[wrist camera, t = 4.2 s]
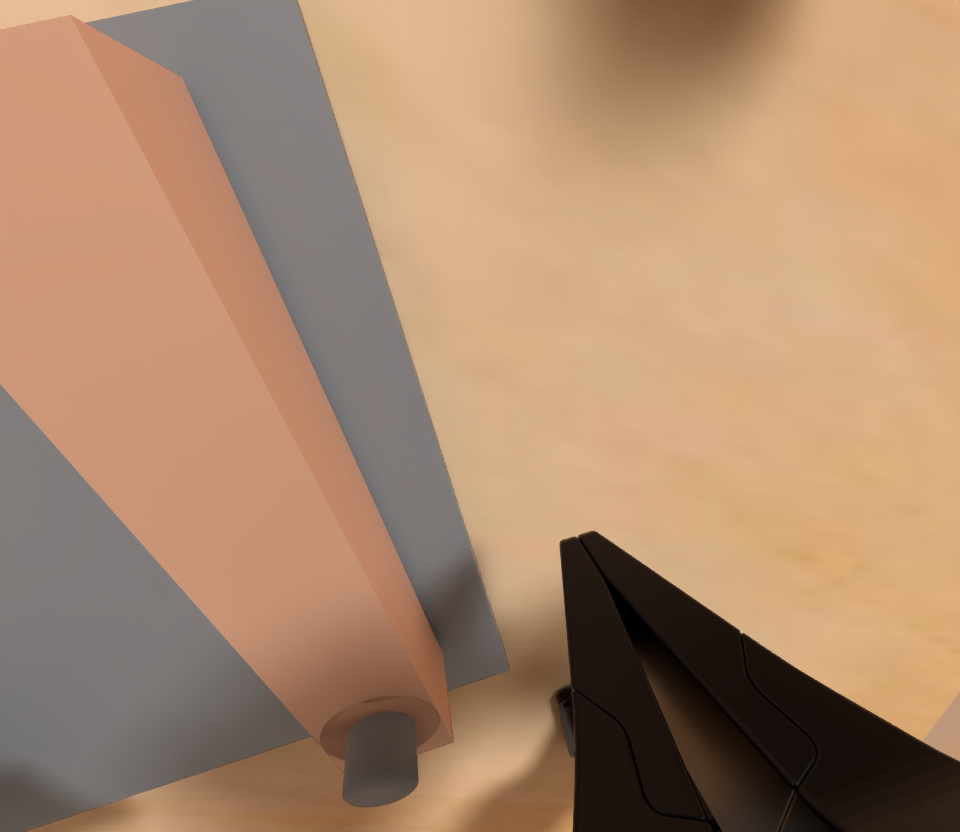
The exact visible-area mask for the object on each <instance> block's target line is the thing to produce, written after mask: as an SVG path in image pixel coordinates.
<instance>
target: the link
mask: <svg viewBox="0 0 960 832" xmlns="http://www.w3.org/2000/svg"><path fill="white" fill-rule="evenodd" d="M0 384H1V385H2V387H3V388H4V389H5V390H6V391H7V392H8V393H9V394H10V396H11V397H12V398H13V399H14V400H15V401H16V402H17V404H18V405H19V406H20V407H21V408H22V409H23V410H24V411H25V413H26V414H27V415H28V416H29V417H30V418H31V419H32V420H33V422H34V423H35V424H36V425H37V426H38V427H39V428H40V430H41V431H42V432H43V433H44V434H45V435H46V436H47V437H48V439H49V440H50V441H51V442H52V443H53V444H54V445H55V446H56V448H57V449H58V450H59V451H60V452H61V453H62V454H63V456H64V457H65V458H66V459H67V460H68V461H69V462H70V463H71V465H72V466H73V467H74V468H75V469H76V470H77V471H78V472H79V474H80V475H81V476H82V477H83V478H84V479H85V480H86V482H87V483H88V484H89V485H90V486H91V487H92V488H93V489H94V491H95V492H96V493H97V494H98V495H99V496H100V497H101V498H102V500H103V501H104V502H105V503H106V504H107V505H108V506H109V508H110V509H111V510H112V511H113V512H114V513H115V514H116V515H117V517H118V518H119V519H120V520H121V521H122V522H123V523H124V524H125V526H126V527H127V528H128V529H129V530H130V531H131V532H132V534H133V535H134V536H135V537H136V538H137V539H138V540H139V541H140V543H141V544H142V545H143V546H144V547H145V548H146V549H147V550H148V552H149V553H150V554H151V555H152V556H153V557H154V558H155V560H156V561H157V562H158V563H159V564H160V565H161V566H162V567H163V569H164V570H165V571H166V572H167V573H168V574H169V575H170V576H171V578H172V579H173V580H174V581H175V582H176V583H177V584H178V586H179V587H180V588H181V589H182V590H183V591H184V592H185V593H186V595H187V596H188V597H189V598H190V599H191V600H192V601H193V602H194V604H195V605H196V606H197V607H198V608H199V609H200V610H201V612H202V613H203V614H204V615H205V616H206V617H207V618H208V619H209V621H210V622H211V623H212V624H213V625H214V626H215V627H216V628H217V630H218V631H219V632H220V633H221V634H222V635H223V636H224V638H225V639H226V640H227V641H228V642H229V643H230V644H231V645H232V647H233V648H234V649H235V650H236V651H237V652H238V653H239V654H240V656H241V657H242V658H243V659H244V660H245V661H246V662H247V664H248V665H249V666H250V667H251V668H252V669H253V670H254V671H255V673H256V674H257V675H258V676H259V677H260V678H261V679H262V680H263V682H264V683H265V684H266V685H267V686H268V687H269V688H270V690H271V691H272V692H273V693H274V694H275V695H276V696H277V697H278V699H279V700H280V701H281V702H282V703H283V704H284V705H285V706H286V708H287V709H288V710H289V711H290V712H291V713H292V714H293V716H294V717H295V718H296V719H297V720H298V721H299V722H300V723H301V725H302V726H303V727H304V728H305V729H306V730H307V731H308V732H309V734H310V735H311V736H312V737H313V738H314V739H315V740H316V742H317V743H318V744H319V745H320V746H321V747H322V748H323V749H324V751H325V752H326V753H327V754H328V755H329V756H330V757H331V758H332V760H333V761H334V762H335V763H336V764H337V765H338V766H339V768H340V769H341V770H342V771H343V772H344V780H343V794H342V795H343V799H344V800H345V801H346V802H347V803H349V804H351V805H354V806H358V807H376V806H382V805H386V804H390V803H393V802H395V801H398V800H400V799H402V798H404V797H406V796H407V795H409V794H410V793H411V792H412V791H413V790H414V789H415V788H416V787H417V785H418V764H417V754H420V753H423V752H426V751H429V750H432V749H435V748H438V747H441V746H444V745H447V744H449V743H452V742H454V740H453V731H452V723H451V715H450V707H449V699H448V691H447V683H446V675H445V667H444V659H443V653H442V651H441V649H440V647H439V644H438V642H437V640H436V638H435V636H434V633H433V631H432V629H431V627H430V625H429V622H428V620H427V618H426V616H425V613H424V611H423V609H422V607H421V605H420V602H419V600H418V598H417V596H416V594H415V591H414V589H413V587H412V585H411V583H410V580H409V578H408V576H407V574H406V571H405V569H404V567H403V565H402V563H401V560H400V558H399V556H398V554H397V552H396V549H395V547H394V545H393V543H392V540H391V538H390V536H389V534H388V532H387V529H386V527H385V525H384V523H383V521H382V518H381V516H380V514H379V512H378V510H377V507H376V505H375V503H374V501H373V498H372V496H371V494H370V492H369V490H368V487H367V485H366V483H365V481H364V479H363V476H362V474H361V472H360V470H359V468H358V465H357V463H356V461H355V459H354V456H353V454H352V452H351V450H350V448H349V445H348V443H347V441H346V439H345V437H344V434H343V432H342V430H341V428H340V425H339V423H338V421H337V419H336V417H335V414H334V412H333V410H332V408H331V406H330V403H329V401H328V399H327V397H326V395H325V392H324V390H323V388H322V386H321V383H320V381H319V379H318V377H317V375H316V372H315V370H314V368H313V366H312V364H311V361H310V359H309V357H308V355H307V353H306V350H305V348H304V346H303V344H302V341H301V339H300V337H299V335H298V333H297V330H296V328H295V326H294V324H293V322H292V319H291V317H290V315H289V313H288V311H287V308H286V306H285V304H284V302H283V299H282V297H281V295H280V293H279V291H278V288H277V286H276V284H275V282H274V280H273V277H272V275H271V273H270V271H269V268H268V266H267V264H266V262H265V260H264V257H263V255H262V253H261V251H260V249H259V246H258V244H257V242H256V240H255V238H254V235H253V233H252V231H251V229H250V226H249V224H248V222H247V220H246V218H245V215H244V213H243V211H242V209H241V207H240V204H239V202H238V200H237V198H236V196H235V193H234V191H233V189H232V187H231V184H230V182H229V180H228V178H227V176H226V173H225V171H224V169H223V167H222V165H221V162H220V160H219V158H218V156H217V153H216V151H215V149H214V147H213V145H212V142H211V140H210V138H209V136H208V134H207V131H206V129H205V127H204V125H203V123H202V120H201V118H200V116H199V114H198V111H197V109H196V107H195V105H194V103H193V100H192V98H191V96H190V94H189V92H188V89H187V87H186V85H185V83H184V81H183V78H182V77H180V76H178V75H177V74H175V73H173V72H171V71H169V70H168V69H166V68H164V67H162V66H161V65H159V64H157V63H155V62H153V61H152V60H150V59H148V58H146V57H144V56H143V55H141V54H139V53H137V52H135V51H134V50H132V49H130V48H128V47H127V46H125V45H123V44H121V43H119V42H118V41H116V40H114V39H112V38H110V37H109V36H107V35H105V34H103V33H101V32H100V31H98V30H96V29H94V28H93V27H91V26H89V25H87V24H85V23H84V22H82V21H80V20H78V19H76V18H75V17H73V16H71V15H69V16H64V17H59V18H54V19H50V20H45V21H40V22H35V23H30V24H26V25H21V26H16V27H11V28H6V29H2V30H0Z"/></svg>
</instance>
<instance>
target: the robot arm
mask: <svg viewBox="0 0 960 832" xmlns="http://www.w3.org/2000/svg"><path fill="white" fill-rule="evenodd" d="M560 556H561V568H562V580H563V592H564V604H565V616H566V629H567V641H568V653H569V665H570V677H571V689H568V690H565V691H562V692H560V693H559V694H558V695H557V696H556V702H557V706H558V710H559V715H560V719H561V723H562V728H563V732H564V736H565V740H566V745H567V748H568V751H569V754H570V756H572V757H575V782H574V809H573V832H960V761H958V760H956V759H954V758H952V757H950V756H948V755H946V754H944V753H942V752H940V751H938V750H936V749H934V748H933V747H931V746H929V745H927V744H925V743H924V742H922V741H920V740H918V739H917V738H915V737H913V736H911V735H910V734H908V733H906V732H905V731H903V730H901V729H899V728H898V727H896V726H894V725H892V724H891V723H889V722H887V721H886V720H884V719H882V718H880V717H879V716H877V715H875V714H873V713H872V712H870V711H868V710H866V709H865V708H863V707H861V706H860V705H858V704H856V703H854V702H853V701H851V700H849V699H847V698H846V697H844V696H842V695H841V694H839V693H837V692H835V691H834V690H832V689H830V688H829V687H827V686H825V685H824V684H822V683H820V682H819V681H817V680H815V679H814V678H812V677H810V676H809V675H807V674H805V673H804V672H802V671H800V670H799V669H797V668H795V667H794V666H792V665H791V664H789V663H788V662H786V661H785V660H783V659H782V658H780V657H778V656H777V655H775V654H774V653H772V652H771V651H769V650H768V649H766V648H765V647H763V646H762V645H760V644H759V643H757V642H756V641H755V640H753V639H752V638H750V637H749V636H747V635H746V634H744V633H742V634H741V633H740V630H738V629H737V628H736V627H734V626H733V625H731V624H730V623H728V622H727V621H725V620H724V619H722V618H721V617H720V616H718V615H717V614H715V613H714V612H712V611H711V610H709V609H708V608H707V607H705V606H704V605H702V604H701V603H699V602H698V601H696V600H695V599H693V598H692V597H691V596H689V595H688V594H686V593H685V592H683V591H682V590H680V589H679V588H677V587H676V586H675V585H673V584H672V583H670V582H669V581H667V580H666V579H664V578H663V577H661V576H660V575H659V574H657V573H656V572H654V571H653V570H651V569H650V568H648V567H647V566H645V565H644V564H643V563H641V562H640V561H638V560H637V559H635V558H634V557H632V556H631V555H630V554H628V553H627V552H625V551H624V550H622V549H621V548H619V547H618V546H616V545H615V544H614V543H612V542H611V541H609V540H608V539H606V538H605V537H603V536H602V535H600V534H599V533H598V532H596V531H590V532H587V533H583V534H580V535H578V537H571V538H567V539H564V540H561V541H560Z"/></svg>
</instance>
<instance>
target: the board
mask: <svg viewBox="0 0 960 832" xmlns="http://www.w3.org/2000/svg"><path fill="white" fill-rule="evenodd" d="M85 24H87V25H89V26H91V27H93V28H94V29H96V30H98V31H100V32H101V33H103V34H105V35H107V36H109V37H110V38H112V39H114V40H116V41H118V42H119V43H121V44H123V45H125V46H127V47H128V48H130V49H132V50H134V51H135V52H137V53H139V54H141V55H143V56H144V57H146V58H148V59H150V60H152V61H153V62H155V63H157V64H159V65H161V66H162V67H164V68H166V69H168V70H169V71H171V72H173V73H175V74H177V75H178V76H180V77H182V78H183V81H184V83H185V85H186V87H187V89H188V92H189V94H190V96H191V98H192V100H193V103H194V105H195V107H196V109H197V111H198V114H199V116H200V118H201V120H202V123H203V125H204V127H205V129H206V131H207V134H208V136H209V138H210V140H211V142H212V145H213V147H214V149H215V151H216V153H217V156H218V158H219V160H220V162H221V165H222V167H223V169H224V171H225V173H226V176H227V178H228V180H229V182H230V184H231V187H232V189H233V191H234V193H235V196H236V198H237V200H238V202H239V204H240V207H241V209H242V211H243V213H244V215H245V218H246V220H247V222H248V224H249V226H250V229H251V231H252V233H253V235H254V238H255V240H256V242H257V244H258V246H259V249H260V251H261V253H262V255H263V257H264V260H265V262H266V264H267V266H268V268H269V271H270V273H271V275H272V277H273V280H274V282H275V284H276V286H277V288H278V291H279V293H280V295H281V297H282V299H283V302H284V304H285V306H286V308H287V311H288V313H289V315H290V317H291V319H292V322H293V324H294V326H295V328H296V330H297V333H298V335H299V337H300V339H301V341H302V344H303V346H304V348H305V350H306V353H307V355H308V357H309V359H310V361H311V364H312V366H313V368H314V370H315V372H316V375H317V377H318V379H319V381H320V383H321V386H322V388H323V390H324V392H325V395H326V397H327V399H328V401H329V403H330V406H331V408H332V410H333V412H334V414H335V417H336V419H337V421H338V423H339V425H340V428H341V430H342V432H343V434H344V437H345V439H346V441H347V443H348V445H349V448H350V450H351V452H352V454H353V456H354V459H355V461H356V463H357V465H358V468H359V470H360V472H361V474H362V476H363V479H364V481H365V483H366V485H367V487H368V490H369V492H370V494H371V496H372V498H373V501H374V503H375V505H376V507H377V510H378V512H379V514H380V516H381V518H382V521H383V523H384V525H385V527H386V529H387V532H388V534H389V536H390V538H391V540H392V543H393V545H394V547H395V549H396V552H397V554H398V556H399V558H400V560H401V563H402V565H403V567H404V569H405V571H406V574H407V576H408V578H409V580H410V583H411V585H412V587H413V589H414V591H415V594H416V596H417V598H418V600H419V602H420V605H421V607H422V609H423V611H424V613H425V616H426V618H427V620H428V622H429V625H430V627H431V629H432V631H433V633H434V636H435V638H436V640H437V642H438V644H439V647H440V649H441V651H442V653H443V659H444V667H445V675H446V683H447V691H448V690H451V689H454V688H457V687H460V686H463V685H466V684H469V683H472V682H475V681H478V680H481V679H484V678H487V677H490V676H493V675H496V674H499V673H502V672H505V671H508V670H510V669H509V665H508V662H507V658H506V654H505V650H504V647H503V643H502V640H501V637H500V634H499V631H498V628H497V625H496V621H495V618H494V615H493V612H492V609H491V606H490V603H489V599H488V596H487V593H486V590H485V587H484V584H483V581H482V577H481V574H480V571H479V568H478V565H477V562H476V559H475V555H474V552H473V549H472V546H471V543H470V540H469V537H468V533H467V530H466V527H465V524H464V521H463V518H462V515H461V511H460V508H459V505H458V502H457V499H456V496H455V493H454V489H453V486H452V483H451V480H450V477H449V474H448V471H447V468H446V464H445V461H444V458H443V455H442V452H441V449H440V446H439V442H438V439H437V436H436V433H435V430H434V427H433V424H432V420H431V417H430V414H429V411H428V408H427V405H426V402H425V398H424V395H423V392H422V389H421V386H420V383H419V380H418V376H417V373H416V370H415V367H414V364H413V361H412V358H411V354H410V351H409V348H408V345H407V342H406V339H405V336H404V332H403V329H402V326H401V323H400V320H399V317H398V314H397V310H396V307H395V304H394V301H393V298H392V295H391V292H390V288H389V285H388V282H387V279H386V276H385V273H384V270H383V266H382V263H381V260H380V257H379V254H378V251H377V248H376V245H375V241H374V238H373V235H372V232H371V229H370V226H369V223H368V219H367V216H366V213H365V210H364V207H363V204H362V201H361V197H360V194H359V191H358V188H357V185H356V182H355V179H354V175H353V172H352V169H351V166H350V163H349V160H348V157H347V153H346V150H345V147H344V144H343V141H342V138H341V135H340V131H339V128H338V125H337V122H336V119H335V116H334V113H333V109H332V106H331V103H330V100H329V97H328V94H327V91H326V87H325V84H324V81H323V78H322V75H321V72H320V69H319V65H318V62H317V59H316V56H315V53H314V50H313V47H312V43H311V40H310V37H309V34H308V31H307V28H306V25H305V22H304V18H303V15H302V12H301V9H300V6H299V3H298V1H297V0H193V1H188V2H183V3H178V4H174V5H169V6H164V7H159V8H155V9H150V10H145V11H140V12H136V13H131V14H126V15H121V16H116V17H112V18H107V19H102V20H97V21H93V22H88V23H85ZM310 736H311V735H310V734H309V732H308V731H307V730H306V729H305V728H304V727H303V726H302V725H301V723H300V722H299V721H298V720H297V719H296V718H295V717H294V716H293V714H292V713H291V712H290V711H289V710H288V709H287V708H286V706H285V705H284V704H283V703H282V702H281V701H280V700H279V699H278V697H277V696H276V695H275V694H274V693H273V692H272V691H271V690H270V688H269V687H268V686H267V685H266V684H265V683H264V682H263V680H262V679H261V678H260V677H259V676H258V675H257V674H256V673H255V671H254V670H253V669H252V668H251V667H250V666H249V665H248V664H247V662H246V661H245V660H244V659H243V658H242V657H241V656H240V654H239V653H238V652H237V651H236V650H235V649H234V648H233V647H232V645H231V644H230V643H229V642H228V641H227V640H226V639H225V638H224V636H223V635H222V634H221V633H220V632H219V631H218V630H217V628H216V627H215V626H214V625H213V624H212V623H211V622H210V621H209V619H208V618H207V617H206V616H205V615H204V614H203V613H202V612H201V610H200V609H199V608H198V607H197V606H196V605H195V604H194V602H193V601H192V600H191V599H190V598H189V597H188V596H187V595H186V593H185V592H184V591H183V590H182V589H181V588H180V587H179V586H178V584H177V583H176V582H175V581H174V580H173V579H172V578H171V576H170V575H169V574H168V573H167V572H166V571H165V570H164V569H163V567H162V566H161V565H160V564H159V563H158V562H157V561H156V560H155V558H154V557H153V556H152V555H151V554H150V553H149V552H148V550H147V549H146V548H145V547H144V546H143V545H142V544H141V543H140V541H139V540H138V539H137V538H136V537H135V536H134V535H133V534H132V532H131V531H130V530H129V529H128V528H127V527H126V526H125V524H124V523H123V522H122V521H121V520H120V519H119V518H118V517H117V515H116V514H115V513H114V512H113V511H112V510H111V509H110V508H109V506H108V505H107V504H106V503H105V502H104V501H103V500H102V498H101V497H100V496H99V495H98V494H97V493H96V492H95V491H94V489H93V488H92V487H91V486H90V485H89V484H88V483H87V482H86V480H85V479H84V478H83V477H82V476H81V475H80V474H79V472H78V471H77V470H76V469H75V468H74V467H73V466H72V465H71V463H70V462H69V461H68V460H67V459H66V458H65V457H64V456H63V454H62V453H61V452H60V451H59V450H58V449H57V448H56V446H55V445H54V444H53V443H52V442H51V441H50V440H49V439H48V437H47V436H46V435H45V434H44V433H43V432H42V431H41V430H40V428H39V427H38V426H37V425H36V424H35V423H34V422H33V420H32V419H31V418H30V417H29V416H28V415H27V414H26V413H25V411H24V410H23V409H22V408H21V407H20V406H19V405H18V404H17V402H16V401H15V400H14V399H13V398H12V397H11V396H10V394H9V393H8V392H7V391H6V390H5V389H4V388H3V387H2V385H1V384H0V832H25V831H28V830H31V829H34V828H37V827H40V826H43V825H46V824H49V823H52V822H55V821H58V820H61V819H64V818H67V817H70V816H73V815H76V814H79V813H82V812H85V811H88V810H91V809H94V808H97V807H100V806H103V805H106V804H109V803H112V802H115V801H118V800H121V799H124V798H127V797H130V796H133V795H136V794H139V793H142V792H145V791H148V790H151V789H154V788H157V787H160V786H163V785H166V784H169V783H172V782H175V781H178V780H181V779H184V778H187V777H190V776H193V775H196V774H199V773H202V772H205V771H208V770H211V769H214V768H217V767H220V766H223V765H226V764H229V763H232V762H235V761H238V760H241V759H244V758H247V757H250V756H253V755H256V754H259V753H262V752H265V751H268V750H271V749H274V748H277V747H280V746H283V745H286V744H289V743H292V742H295V741H298V740H301V739H304V738H307V737H310Z"/></svg>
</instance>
